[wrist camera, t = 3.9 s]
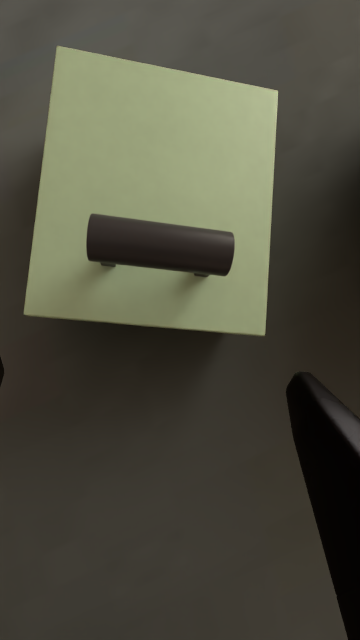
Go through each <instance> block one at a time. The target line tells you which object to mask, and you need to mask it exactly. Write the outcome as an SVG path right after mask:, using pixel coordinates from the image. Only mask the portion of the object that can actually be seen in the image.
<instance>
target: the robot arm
mask: <svg viewBox="0 0 360 640" xmlns="http://www.w3.org/2000/svg"><path fill="white" fill-rule="evenodd" d="M3 376H4V367H3V364H2V360H1V357H0V386H1V383H2V379H3ZM286 397H287V403H288V409H289V415H290V421H291V428H292V433H293V438H294V442H295V446H296V450H297V454H298V457H299V461H300V465H301V468H302V472H303V476H304V479H305V483H306V487H307V490H308V494H309V498H310V501H311V505H312V508H313V512H314V516H315V519H316V523H317V527H318V530H319V534H320V538H321V541H322V545H323V549H324V552H325V556H326V560H327V563H328V567H329V571H330V574H331V578H332V582H333V585H334V589H335V593H336V595H337V601H338V604H339V608H340V612H341V615H342V619H343V622H344V626H345V630H346V633H347V637H348V640H360V419H359V418H358V417H357V416H356V415H354V414H353V413H352V412H351V411H350V410H349V409H348V408H347V407H346V406H345V405H344V404H343V403H342V402H341V401H340V400H339V399H338V398H336V397H335V396H334V395H333V394H332V393H331V392H330V391H329V390H328V389H327V388H326V387H325V386H324V385H323V384H322V383H321V382H320V381H318V380H317V379H316V378H315V377H314V376H313V375H312V374H311V373H309V372H296V373H295V374H294V376H293V378H292V379H291V381H290V383H289V384H288V386H287V389H286Z"/></svg>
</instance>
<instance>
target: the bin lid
mask: <svg viewBox="0 0 360 640" xmlns="http://www.w3.org/2000/svg"><path fill="white" fill-rule="evenodd" d="M277 101H278V91H277V90H272V89H267V88H262V87H257V86H252V85H247V84H242V83H237V82H232V81H227V80H223V79H218V78H213V77H208V76H203V75H198V74H193V73H188V72H183V71H178V70H173V69H168V68H164V67H159V66H154V65H149V64H144V63H139V62H134V61H129V60H124V59H119V58H114V57H110V56H105V55H100V54H95V53H90V52H85V51H80V50H75V49H70V48H65V47H60V46H57V49H56V57H55V65H54V73H53V81H52V89H51V97H50V105H49V113H48V121H47V129H46V137H45V145H44V153H43V161H42V169H41V177H40V185H39V193H38V201H37V209H36V217H35V225H34V233H33V241H32V250H31V258H30V266H29V274H28V282H27V290H26V298H25V306H24V315H26V316H34V317H46V318H57V319H68V320H80V321H91V322H103V323H114V324H126V325H137V326H149V327H160V328H172V329H183V330H194V331H206V332H217V333H229V334H240V335H252V336H265V327H266V308H267V290H268V271H269V252H270V233H271V214H272V195H273V176H274V157H275V138H276V119H277Z"/></svg>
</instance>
